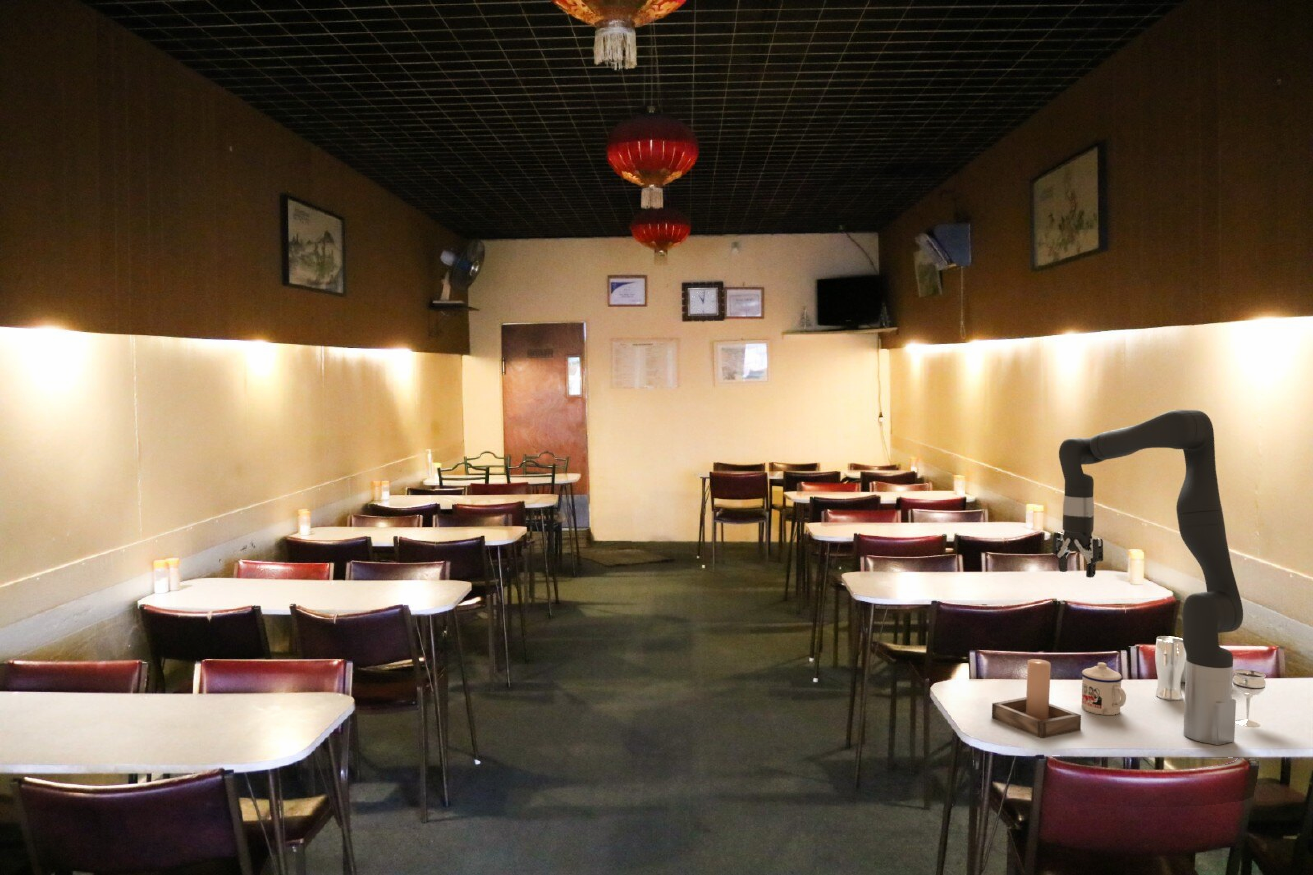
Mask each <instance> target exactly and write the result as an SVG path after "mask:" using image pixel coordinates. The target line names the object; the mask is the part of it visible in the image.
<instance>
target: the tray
mask: <svg viewBox="0 0 1313 875" xmlns="http://www.w3.org/2000/svg"><path fill="white" fill-rule="evenodd" d="M991 705H992V706H991V718H992V719H994V720H996V721H999V722H1001V723H1004V724H1006V725H1009V726H1012V727H1013V728H1016V729H1018V730H1021V731H1024V732H1026V733H1028V734H1031V735H1034V736H1035V737H1038V738H1040V739H1044V738H1045V739H1046V738H1050V737H1054V736H1059V735H1064V734H1068V733H1073V732H1077V731H1081V729H1082V726H1081V725H1082V724H1081V723H1082V715H1081V714H1079V713H1076V712H1073V711H1071V710H1069V709H1065V708H1063V707H1059V706H1057V705H1054V704H1052V703H1049V716H1048V719H1047V720H1039V719H1037V718H1034V717H1032V716H1029V715H1026V696H1024V697H1019V698H1014V699H1007V700H1003V701H997V702H992V703H991Z"/></svg>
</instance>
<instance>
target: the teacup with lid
mask: <svg viewBox="0 0 1313 875" xmlns="http://www.w3.org/2000/svg"><path fill="white" fill-rule="evenodd" d="M1107 665H1108V664H1107V663H1105V662H1103V661H1102V662H1097V665H1095V666H1093V667H1089V668H1085V669H1083V670H1082V672H1081V677H1082V683H1081V685H1082V687H1081V707H1082V709H1083V710H1084V711H1086V712H1089V713H1090V714H1091V713H1092V714H1095V715H1099V714H1101V716H1115V714H1116V715H1118V714H1119V713H1121V707H1123V706H1124V705H1125V703H1126V701H1127V693H1126V692H1125V690H1124V689H1123V688H1122V680H1123V677H1122V675H1121V674H1120V673H1119V672H1118V671H1115V670H1113V669H1111V668H1110V667H1108V666H1107Z"/></svg>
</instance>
